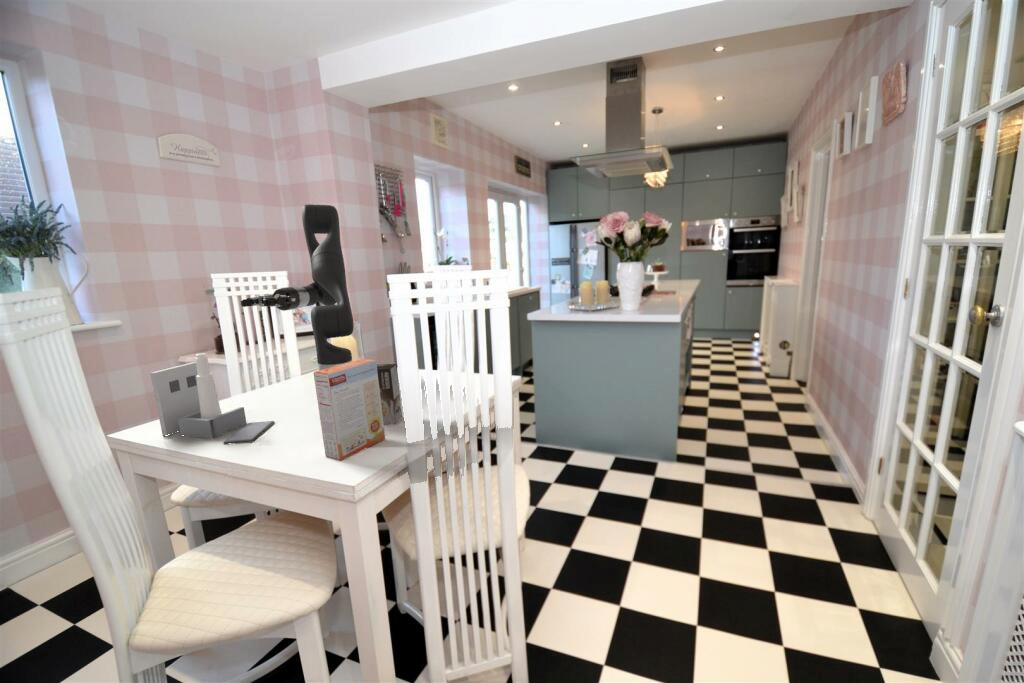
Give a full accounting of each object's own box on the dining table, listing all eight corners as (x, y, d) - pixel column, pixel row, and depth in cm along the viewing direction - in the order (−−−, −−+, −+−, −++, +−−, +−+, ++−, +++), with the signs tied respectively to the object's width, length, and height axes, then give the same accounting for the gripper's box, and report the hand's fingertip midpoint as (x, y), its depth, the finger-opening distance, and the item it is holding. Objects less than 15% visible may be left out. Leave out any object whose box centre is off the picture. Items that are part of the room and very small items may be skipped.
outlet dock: (252, 421, 133) (242, 361, 130) (209, 439, 120) (197, 374, 117) (208, 418, 138) (198, 360, 134) (162, 435, 124) (150, 372, 121)
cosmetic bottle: (230, 425, 131) (217, 350, 127) (220, 432, 125) (206, 355, 121) (207, 427, 130) (194, 352, 126) (196, 435, 124) (182, 357, 120)
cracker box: (369, 435, 118) (361, 357, 114) (386, 439, 114) (378, 359, 111) (323, 457, 106) (312, 370, 102) (340, 461, 103) (329, 373, 99)
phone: (274, 424, 131) (274, 420, 131) (252, 444, 117) (252, 439, 117) (249, 426, 130) (248, 422, 130) (224, 446, 116) (223, 441, 116)
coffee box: (403, 416, 131) (398, 363, 128) (397, 424, 125) (391, 368, 122) (372, 417, 131) (366, 364, 128) (364, 425, 125) (358, 369, 122)
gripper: (272, 287, 154) (232, 291, 139) (307, 286, 150) (270, 290, 135) (276, 309, 155) (236, 315, 140) (310, 308, 152) (273, 315, 136)
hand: (253, 303), depth 137 cm, fingers open, 8 cm apart
